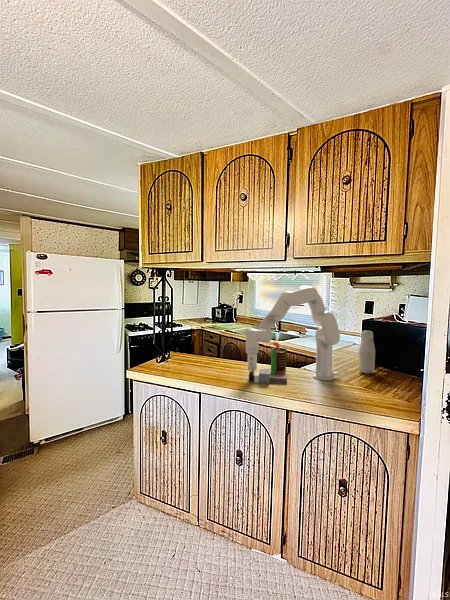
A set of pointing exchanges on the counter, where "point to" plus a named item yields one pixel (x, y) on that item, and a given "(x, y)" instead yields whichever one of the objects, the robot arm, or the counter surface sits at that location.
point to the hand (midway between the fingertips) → (251, 380)
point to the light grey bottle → (366, 352)
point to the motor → (278, 359)
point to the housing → (264, 376)
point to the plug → (272, 379)
